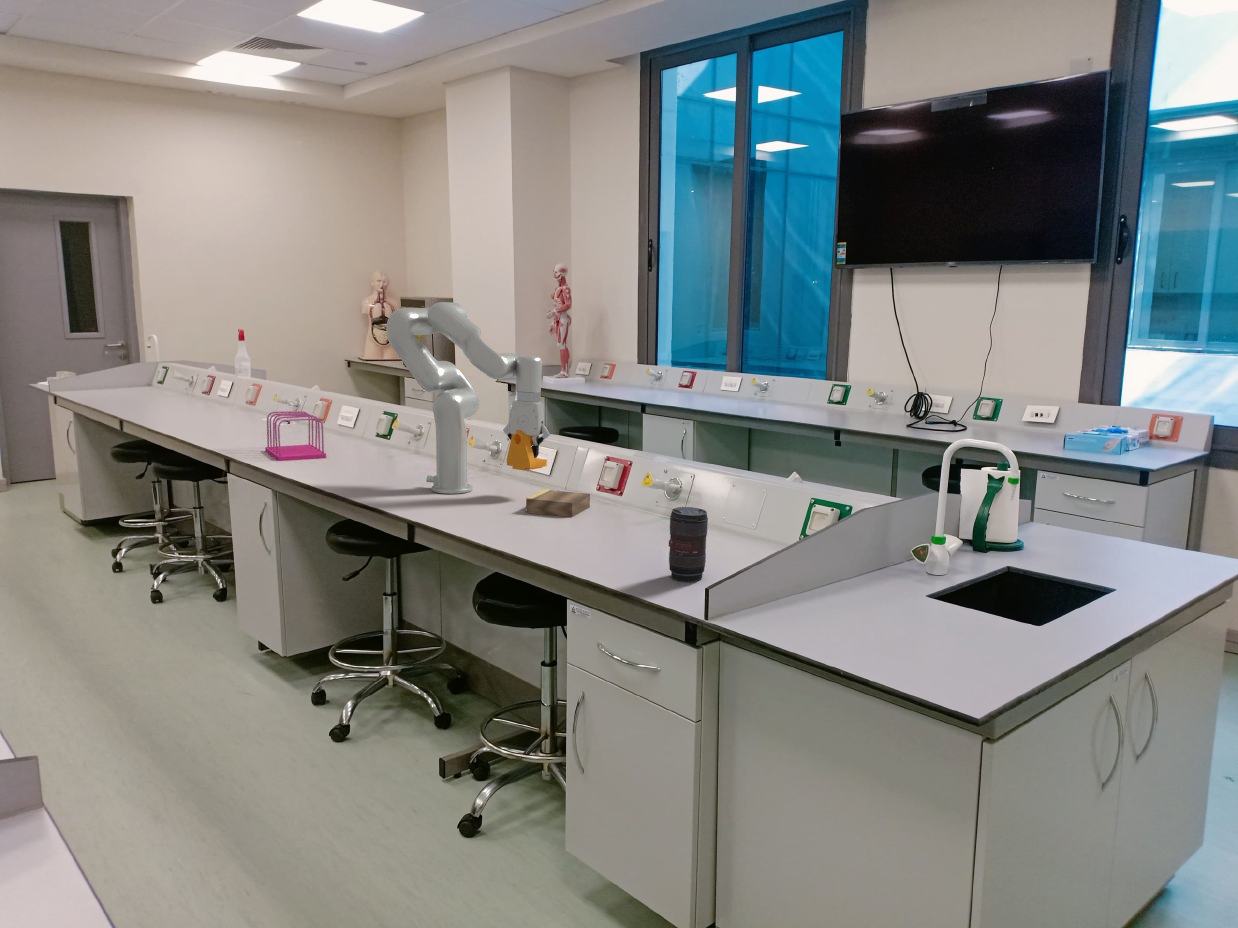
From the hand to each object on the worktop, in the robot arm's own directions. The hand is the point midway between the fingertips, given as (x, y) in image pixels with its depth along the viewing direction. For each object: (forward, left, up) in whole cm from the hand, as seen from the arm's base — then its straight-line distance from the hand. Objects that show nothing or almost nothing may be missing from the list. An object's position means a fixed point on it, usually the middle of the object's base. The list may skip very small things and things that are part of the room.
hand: (525, 456), depth 274 cm
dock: (+16, -12, -13) cm, 24 cm away
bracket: (+1, 0, -4) cm, 4 cm away
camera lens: (+67, -63, -13) cm, 93 cm away
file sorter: (-112, +36, -13) cm, 118 cm away
